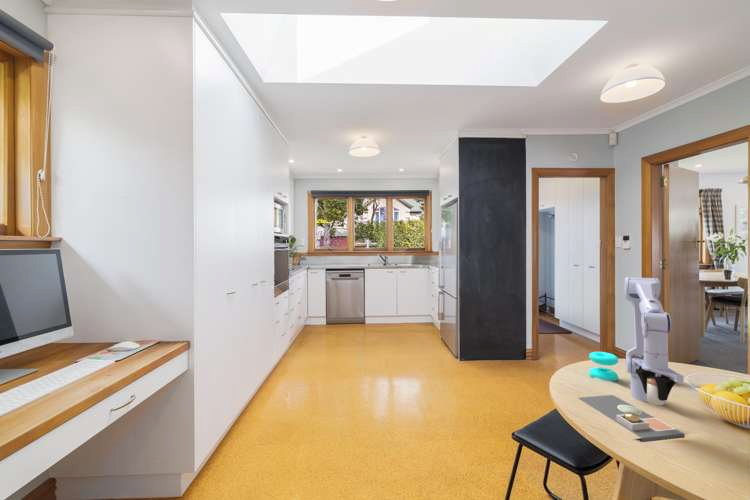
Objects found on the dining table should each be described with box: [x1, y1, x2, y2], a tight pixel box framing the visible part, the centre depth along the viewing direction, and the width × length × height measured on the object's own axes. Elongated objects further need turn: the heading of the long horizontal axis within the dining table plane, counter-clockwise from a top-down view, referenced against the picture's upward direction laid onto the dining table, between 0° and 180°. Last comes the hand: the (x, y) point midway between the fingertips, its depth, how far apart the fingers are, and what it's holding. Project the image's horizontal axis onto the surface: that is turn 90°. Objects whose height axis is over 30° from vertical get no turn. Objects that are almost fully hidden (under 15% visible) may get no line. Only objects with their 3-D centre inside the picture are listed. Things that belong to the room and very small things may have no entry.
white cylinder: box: [647, 377, 665, 406], centre depth 101 cm, size 4×4×7 cm
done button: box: [625, 412, 640, 423], centre depth 102 cm, size 4×4×2 cm
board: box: [578, 394, 686, 443], centre depth 108 cm, size 14×25×3 cm, turn 7°
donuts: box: [588, 351, 619, 383], centre depth 139 cm, size 10×10×10 cm
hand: (655, 396), depth 102 cm, fingers closed on white cylinder, 4 cm apart
